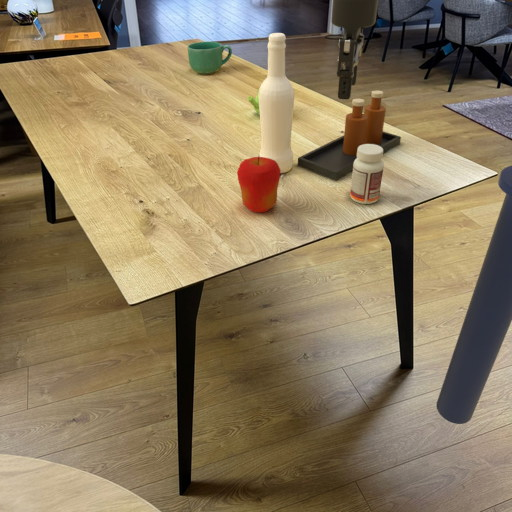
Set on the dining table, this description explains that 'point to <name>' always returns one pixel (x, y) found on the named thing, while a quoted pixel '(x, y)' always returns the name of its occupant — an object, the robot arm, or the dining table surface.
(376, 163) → the pill bottle
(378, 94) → the amber bottle far
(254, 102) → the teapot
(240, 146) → the dining table surface
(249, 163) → the apple
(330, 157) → the tray
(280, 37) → the bottle
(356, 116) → the amber bottle near
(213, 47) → the mug
